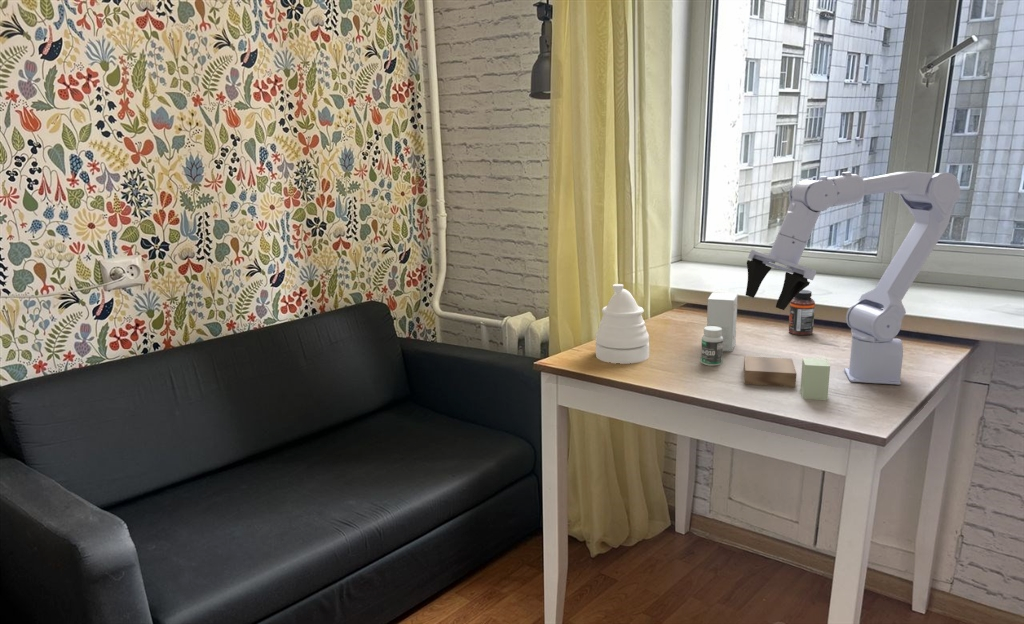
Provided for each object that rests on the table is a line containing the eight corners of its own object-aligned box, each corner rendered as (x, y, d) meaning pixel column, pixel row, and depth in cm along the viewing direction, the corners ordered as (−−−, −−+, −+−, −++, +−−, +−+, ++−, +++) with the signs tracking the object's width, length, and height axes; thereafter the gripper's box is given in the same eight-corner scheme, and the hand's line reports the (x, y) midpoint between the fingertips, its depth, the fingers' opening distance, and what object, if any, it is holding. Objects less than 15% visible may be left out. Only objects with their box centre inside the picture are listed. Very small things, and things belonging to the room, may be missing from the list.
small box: (710, 340, 173) (712, 291, 170) (736, 343, 171) (738, 293, 167) (705, 349, 166) (707, 298, 163) (732, 352, 163) (734, 300, 160)
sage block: (824, 392, 136) (826, 359, 134) (827, 400, 132) (830, 366, 130) (800, 390, 137) (802, 357, 135) (802, 398, 133) (805, 364, 131)
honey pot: (631, 367, 155) (632, 291, 151) (585, 357, 163) (584, 285, 159) (658, 353, 165) (659, 281, 160) (613, 345, 173) (613, 276, 169)
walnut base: (791, 371, 148) (792, 358, 147) (795, 387, 139) (796, 373, 138) (743, 368, 151) (744, 356, 150) (744, 383, 142) (745, 370, 141)
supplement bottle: (785, 329, 180) (788, 288, 178) (809, 329, 180) (812, 288, 177) (791, 335, 175) (794, 293, 172) (815, 336, 174) (818, 293, 171)
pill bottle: (696, 362, 157) (697, 327, 155) (709, 358, 159) (711, 324, 157) (713, 367, 153) (714, 332, 151) (726, 363, 155) (727, 328, 153)
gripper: (751, 225, 136) (725, 287, 139) (812, 243, 125) (782, 310, 127) (771, 234, 140) (745, 294, 143) (832, 252, 129) (803, 317, 131)
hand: (764, 302), depth 135 cm, fingers open, 7 cm apart
